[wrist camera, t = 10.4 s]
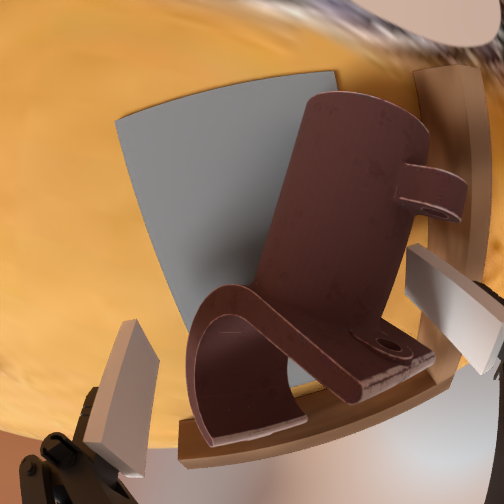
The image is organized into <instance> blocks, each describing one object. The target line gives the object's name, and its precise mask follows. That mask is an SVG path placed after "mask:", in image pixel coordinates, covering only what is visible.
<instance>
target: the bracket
mask: <svg viewBox="0 0 504 504" xmlns="http://www.w3.org/2000/svg"><path fill="white" fill-rule="evenodd" d="M429 146H430V134H429V132H428V130H427V128H426V127H425V126H424V125H423V123H422V122H421V121H420V120H418V119H417V118H416V117H415V116H414V115H412V114H411V113H409V112H408V111H406V110H405V109H403V108H401V107H399V106H397V105H395V104H393V103H391V102H388V101H386V100H383V99H380V98H378V97H374V96H371V95H367V94H362V93H356V92H348V91H330V92H323V93H319V94H317V95H314V96H312V97H311V98H310V99H309V100H308V101H307V104H306V107H305V111H304V114H303V118H302V121H301V124H300V128H299V131H298V135H297V138H296V141H295V145H294V148H293V152H292V155H291V158H290V162H289V165H288V168H287V172H286V175H285V178H284V182H283V185H282V188H281V192H280V195H279V198H278V202H277V205H276V208H275V212H274V215H273V218H272V222H271V225H270V228H269V232H268V235H267V238H266V242H265V245H264V248H263V251H262V255H261V258H260V261H259V264H258V268H257V271H256V274H255V277H254V281H253V282H251V283H250V284H248V285H239V284H226V285H222V286H220V287H218V288H216V289H215V290H213V291H212V292H211V293H210V294H209V295H208V296H207V297H206V298H205V299H204V300H203V302H202V303H201V305H200V307H199V308H198V310H197V312H196V314H195V317H194V319H193V322H192V325H191V328H190V332H189V336H188V342H187V349H186V384H187V391H188V396H189V401H190V405H191V409H192V412H193V415H194V418H195V421H196V423H197V425H198V428H199V430H200V432H201V434H202V435H203V437H204V439H205V440H206V442H207V443H208V445H209V446H210V447H216V446H221V445H226V444H230V443H235V442H239V441H249V440H253V439H256V438H260V437H264V436H268V435H271V434H272V433H274V432H277V431H281V430H284V429H287V428H291V427H294V426H297V425H300V424H303V423H306V422H307V421H308V417H307V415H306V414H305V413H304V412H303V411H302V410H301V409H300V407H299V406H298V404H297V403H296V401H295V399H294V397H293V395H292V392H291V390H290V386H289V381H288V373H287V366H288V357H289V358H290V359H291V360H293V361H294V362H295V363H296V364H297V365H299V366H300V367H301V368H302V369H304V370H305V371H306V372H307V373H308V374H310V375H311V376H312V377H313V378H315V379H316V380H317V381H318V382H320V383H321V384H322V385H323V386H325V387H326V388H327V389H328V390H330V391H331V392H332V393H333V394H335V395H336V396H337V397H338V398H340V399H341V400H342V401H344V402H345V403H347V404H349V405H355V404H358V403H360V402H362V401H365V400H367V399H369V398H371V397H373V396H375V395H377V394H379V393H381V392H383V391H386V390H388V389H389V388H391V387H393V386H395V385H397V384H399V383H401V382H403V381H405V380H407V379H408V378H410V377H412V376H414V375H416V374H417V373H419V372H421V371H423V370H424V369H426V368H428V367H429V366H431V365H433V364H434V362H435V360H436V355H435V353H434V351H432V350H431V349H429V348H428V347H426V346H425V345H423V344H422V343H420V342H418V341H417V340H415V339H414V338H412V337H411V336H409V335H408V334H406V333H404V332H403V331H401V330H400V329H398V328H397V327H395V326H393V325H392V324H390V323H389V322H387V321H386V320H384V319H382V318H381V316H382V313H383V311H384V308H385V306H386V303H387V300H388V298H389V295H390V292H391V290H392V287H393V284H394V281H395V279H396V276H397V273H398V270H399V267H400V264H401V261H402V258H403V254H404V251H405V248H406V245H407V241H408V238H409V235H410V231H411V227H412V224H413V220H414V217H415V216H416V215H419V214H420V215H424V216H428V217H432V218H435V219H439V220H443V221H447V222H451V223H460V222H461V219H462V215H463V210H464V205H465V200H466V195H467V189H468V184H467V183H466V182H465V181H464V180H463V179H462V178H460V177H459V176H457V175H455V174H453V173H451V172H448V171H445V170H442V169H438V168H433V167H427V166H426V163H427V157H428V152H429Z"/></svg>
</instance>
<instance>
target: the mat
mask: <svg viewBox="0 0 504 504" xmlns="http://www.w3.org/2000/svg"><path fill="white" fill-rule="evenodd" d="M330 91H338V87H337V83H336V79H335V74H334V71H326V72H314V73H305V74H296V75H288V76H281V77H274V78H268V79H262V80H256V81H250V82H245V83H240V84H235V85H231V86H226V87H222V88H217V89H213V90H209V91H205V92H201V93H198V94H194V95H190V96H187V97H183V98H180V99H176V100H173V101H170V102H167V103H163V104H160V105H157V106H154V107H151V108H148V109H145V110H143V111H140V112H137V113H134V114H132V115H129V116H126V117H124V118H121V119H119V120H116V121H115V125H116V129H117V133H118V137H119V141H120V144H121V148H122V152H123V155H124V159H125V162H126V166H127V169H128V172H129V176H130V179H131V182H132V185H133V189H134V192H135V195H136V198H137V201H138V204H139V207H140V210H141V213H142V216H143V219H144V222H145V225H146V228H147V231H148V233H149V236H150V239H151V242H152V244H153V247H154V250H155V253H156V255H157V258H158V260H159V263H160V266H161V268H162V271H163V273H164V276H165V278H166V281H167V283H168V286H169V288H170V291H171V293H172V296H173V298H174V300H175V303H176V305H177V307H178V310H179V312H180V314H181V317H182V319H183V321H184V323H185V326H186V328H187V330H188V332H190V328H191V325H192V322H193V319H194V317H195V314H196V312H197V310H198V308H199V307H200V305H201V303H202V302H203V300H204V299H205V298H206V297H207V296H208V295H209V294H210V293H211V292H212V291H213V290H215V289H216V288H218V287H220V286H222V285H226V284H239V285H248V284H250V283H251V282H253V281H254V277H255V274H256V271H257V268H258V264H259V261H260V258H261V255H262V251H263V248H264V245H265V242H266V238H267V235H268V232H269V228H270V225H271V222H272V218H273V215H274V212H275V208H276V205H277V202H278V198H279V195H280V192H281V188H282V185H283V182H284V178H285V175H286V172H287V168H288V165H289V162H290V158H291V155H292V152H293V148H294V145H295V141H296V138H297V135H298V131H299V128H300V124H301V121H302V118H303V114H304V111H305V107H306V104H307V101H308V100H309V99H310V98H311V97H312V96H314V95H317V94H319V93H323V92H330ZM287 373H288V381H289V386H290V388H291V387H295V386H298V385H302V384H305V383H308V382H312V381H315V380H316V379H315V378H313V377H312V376H311V375H310V374H308V373H307V372H306V371H305V370H304V369H302V368H301V367H300V366H299V365H297V364H296V363H295V362H294V361H293V360H291V359H290V358H289V357H288V366H287Z"/></svg>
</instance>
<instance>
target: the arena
mask: <svg viewBox="0 0 504 504" xmlns="http://www.w3.org/2000/svg"><path fill="white" fill-rule="evenodd" d="M413 75H414V79H415V84H416V89H417V94H418V100H419V105H420V112H421V118H422V123H423V125H424V126H425V127H426V128H427V130H428V132H429V134H430V146H429V152H428V157H427V167H433V168H438V169H442V170H445V171H448V172H451V173H453V174H455V175H457V176H459V177H460V178H462V179H463V180H464V181H465V182H466V183H467V184H468V189H467V195H466V200H465V205H464V210H463V215H462V219H461V222H460V223H451V222H447V221H443V220H439V219H435V218H432V217H429V221H428V250H429V251H431V252H432V253H434V254H435V255H437V256H438V257H439V258H441V259H442V260H444V261H445V262H447V263H448V264H449V265H451V266H452V267H454V268H455V269H456V270H458V271H459V272H460V273H462V274H463V275H464V276H466V277H467V278H469V279H470V280H471V281H472V282H473V281H478V282H480V283H481V282H482V277H483V271H484V265H485V259H486V252H487V245H488V237H489V227H490V215H491V197H492V156H491V138H490V127H489V117H488V109H487V102H486V96H485V90H484V84H483V79H482V74H481V70H480V69H479V68H475V67H470V66H465V65H459V64H457V65H449V66H442V67H435V68H429V69H423V70H417V71H413ZM417 341H418V342H420V343H422V344H423V345H425V346H426V347H428V348H429V349H431V350H432V351H434V353H435V355H436V360H435V362H434V364H433V365H431V366H429V367H428V368H426V369H424V370H423V371H421V372H419V373H417V374H416V375H414V376H412V377H410V378H408V379H407V380H405V381H403V382H401V383H399V384H397V385H395V386H393V387H391V388H389V389H388V390H386V391H383V392H381V393H379V394H377V395H375V396H373V397H371V398H369V399H367V400H365V401H362V402H360V403H358V404H355V405H349V404H347V403H345V402H344V401H342V400H341V399H340V398H338V397H337V396H336V395H335V394H333V393H332V392H331V391H330V390H328V389H325V390H322V391H319V392H315V393H312V394H309V395H305V396H302V397H298V398H295V401H296V403H297V404H298V406H299V407H300V409H301V410H302V411H303V412H304V413H305V414H306V415H307V417H308V421H307V422H306V423H303V424H300V425H297V426H294V427H291V428H287V429H284V430H281V431H277V432H274V433H272V434H271V435H268V436H264V437H260V438H256V439H253V440H249V441H239V442H235V443H230V444H226V445H221V446H216V447H210V446H209V445H208V443H207V442H206V440H205V439H204V437H203V435H202V434H201V432H200V430H199V428H198V425H197V423H196V421H195V419H192V420H184V421H179V438H178V460H179V462H180V463H182V464H183V465H184V466H185V467H186V468H187V469H195V468H207V467H216V466H224V465H231V464H237V463H244V462H250V461H255V460H261V459H265V458H270V457H275V456H279V455H283V454H288V453H292V452H295V451H300V450H303V449H307V448H310V447H314V446H317V445H321V444H324V443H327V442H330V441H333V440H336V439H339V438H342V437H345V436H348V435H351V434H353V433H356V432H359V431H361V430H364V429H366V428H369V427H371V426H374V425H376V424H379V423H381V422H384V421H386V420H388V419H390V418H392V417H394V416H397V415H399V414H401V413H403V412H405V411H408V410H410V409H412V408H414V407H416V406H417V405H419V404H421V403H423V402H425V401H427V400H429V399H431V398H433V397H435V396H436V395H438V394H440V393H442V392H443V391H445V390H447V389H449V387H450V384H451V382H452V379H453V377H454V374H455V372H456V369H457V367H458V364H459V361H460V358H461V355H462V353H461V352H460V351H459V350H458V349H457V348H456V347H455V346H454V345H453V343H452V342H451V341H450V340H449V339H448V338H447V337H446V336H445V335H444V334H443V333H442V332H441V331H440V329H439V328H438V327H437V326H436V325H435V324H434V323H433V322H432V321H431V320H430V319H429V318H428V317H427V316H426V315H425V314H424V313H423V312H422V313H421V320H420V326H419V332H418V338H417Z"/></svg>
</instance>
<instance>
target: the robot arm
mask: <svg viewBox="0 0 504 504" xmlns="http://www.w3.org/2000/svg"><path fill="white" fill-rule="evenodd" d="M405 295H406V296H407V297H408V298H409V299H410V300H411V301H412V302H413V303H414V304H415V305H416V306H417V307H418V308H419V309H420V310H421V311H422V312H423V313H424V314H425V315H426V316H427V317H428V318H429V319H430V320H431V321H432V322H433V323H434V324H435V325H436V326H437V327H438V328H439V329H440V331H441V332H442V333H443V334H444V335H445V336H446V337H447V338H448V339H449V340H450V341H451V342H452V343H453V345H454V346H455V347H456V348H457V349H458V350H459V351H460V352H461V353H462V355H463V356H464V357H465V358H466V359H467V360H468V361H469V363H470V364H471V365H472V366H473V367H474V368H475V369H476V370H477V372H478V373H479V374H480V375H483V374H484V373H486V372H487V371H488V370H490V369H491V368H493V366H494V364H495V361H496V359H497V357H498V358H499V359H500V360H501V363H500V365H499V367H498V369H497V371H496V373H495V375H494V380H496V378H497V376H498V374H499V376H500V377H499V380H500V396H499V420H498V431H497V441H496V449H495V456H494V462H493V468H492V473H491V478H490V483H489V487H488V492H487V495H486V500H485V503H484V504H504V299H503V298H502V297H500V296H498V294H496V293H495V292H493V291H492V290H491V289H490V288H489V287H487V286H486V285H485V284H483V283H480V282H478V281H473V282H472V281H471V280H470V279H469V278H467V277H466V276H464V275H463V274H462V273H460V272H459V271H458V270H456V269H455V268H454V267H452V266H451V265H449V264H448V263H447V262H445V261H444V260H442V259H441V258H439V257H438V256H437V255H435V254H434V253H432V252H431V251H429V250H428V249H426V248H425V247H423V246H422V245H420V244H419V243H417V244H414V245H411V246H408V247H407V249H406V278H405ZM159 362H160V360H159V359H158V357H157V355H156V354H155V352H154V350H153V348H152V346H151V345H150V343H149V341H148V339H147V337H146V336H145V334H144V332H143V330H142V328H141V326H140V324H139V322H138V320H137V319H133V320H128V321H124V322H122V325H121V327H120V330H119V332H118V335H117V338H116V340H115V343H114V346H113V348H112V351H111V354H110V356H109V359H108V362H107V365H106V368H105V370H104V373H103V376H102V379H101V382H100V385H99V387H93V388H92V389H91V391H90V392H89V393H88V395H87V396H86V399H85V402H84V405H83V408H82V411H81V414H80V415H81V416H80V417H79V420H78V423H77V427H76V430H75V433H74V437H73V440H72V441H71V440H70V439H68V438H67V437H66V436H65V435H64V434H62V433H60V432H54V433H52V434H49V435H48V436H47V437H46V438H45V439H44V441H43V442H42V445H41V448H40V452H41V456H42V457H44V458H45V459H46V460H47V461H42V460H41V459H40V458H39V457H37V456H35V455H28V456H26V457H25V458H24V459H23V461H22V462H21V464H20V468H19V475H20V487H21V496H22V504H56V503H55V501H56V502H57V504H138V503H137V501H136V500H135V499H134V497H133V496H132V495H131V494H130V492H129V491H128V489H127V488H126V487H125V485H124V484H123V483H122V481H120V479H119V478H118V472H121V473H122V474H123V475H125V476H126V477H137V478H144V476H145V464H146V454H147V446H148V437H149V429H150V421H151V413H152V406H153V399H154V393H155V386H156V380H157V374H158V368H159Z"/></svg>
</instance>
